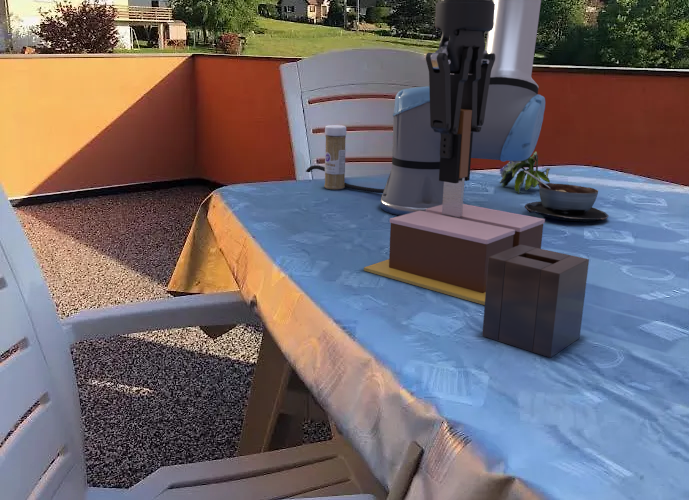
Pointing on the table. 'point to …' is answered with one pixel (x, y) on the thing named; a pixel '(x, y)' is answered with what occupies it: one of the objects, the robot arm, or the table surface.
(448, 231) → the cake
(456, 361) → the table surface
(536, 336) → the knife block
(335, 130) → the sprinkles bottle
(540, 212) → the soup bowl
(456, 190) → the knife
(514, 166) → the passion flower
